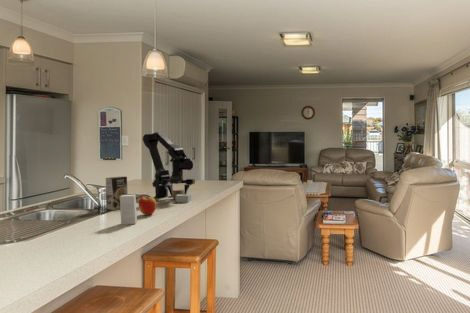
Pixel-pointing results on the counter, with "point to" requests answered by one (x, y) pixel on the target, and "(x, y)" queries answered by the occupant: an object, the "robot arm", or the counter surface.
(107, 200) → the coffee box
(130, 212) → the skincare box
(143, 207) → the apple
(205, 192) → the counter surface
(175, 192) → the walnut cube
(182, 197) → the base block
